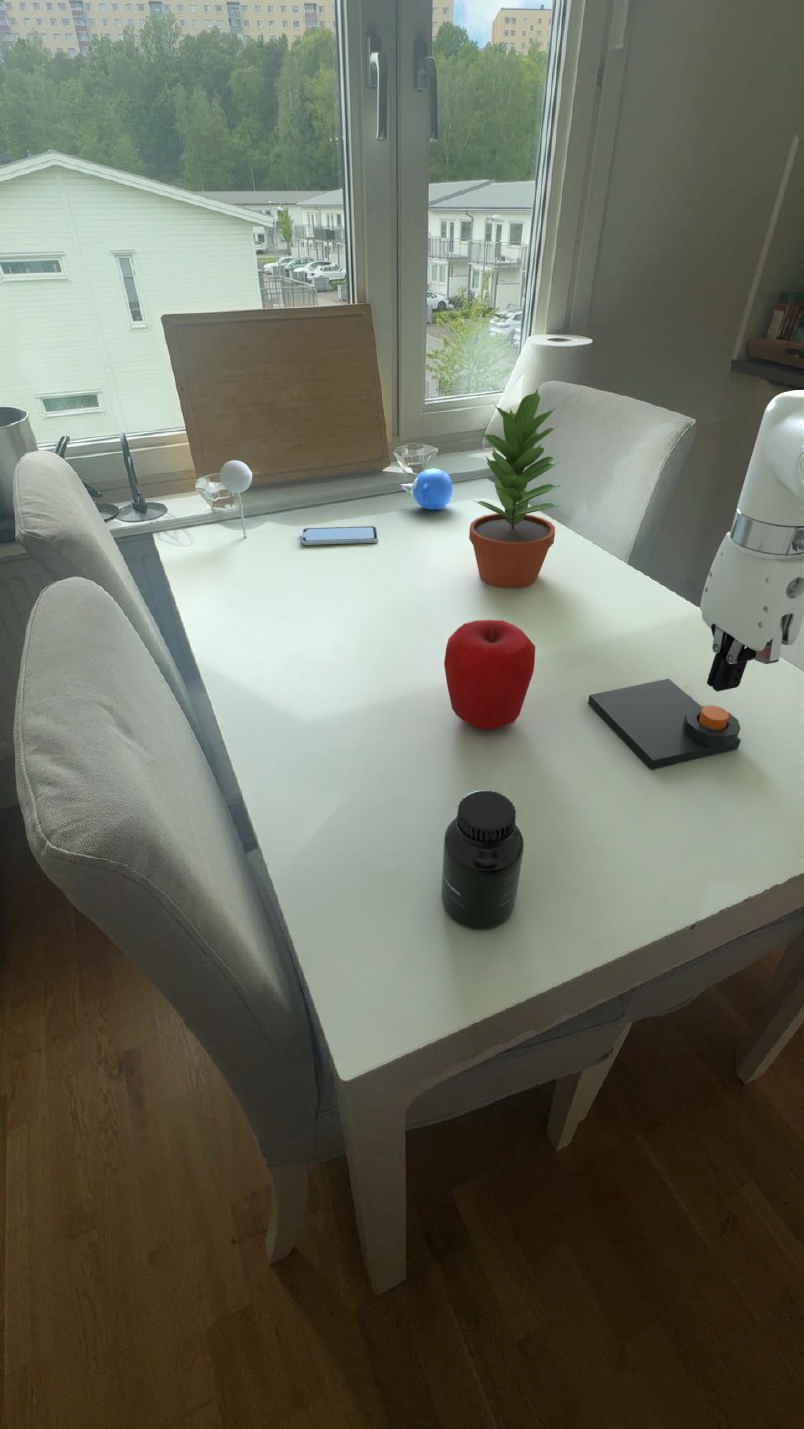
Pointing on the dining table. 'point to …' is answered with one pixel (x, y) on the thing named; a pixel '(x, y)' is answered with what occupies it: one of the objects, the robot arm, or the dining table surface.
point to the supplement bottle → (482, 861)
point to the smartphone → (339, 535)
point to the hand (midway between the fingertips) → (722, 685)
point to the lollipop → (236, 481)
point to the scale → (662, 723)
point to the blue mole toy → (431, 489)
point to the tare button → (713, 717)
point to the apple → (488, 672)
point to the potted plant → (515, 503)
